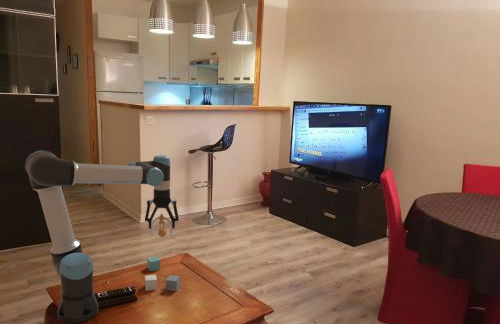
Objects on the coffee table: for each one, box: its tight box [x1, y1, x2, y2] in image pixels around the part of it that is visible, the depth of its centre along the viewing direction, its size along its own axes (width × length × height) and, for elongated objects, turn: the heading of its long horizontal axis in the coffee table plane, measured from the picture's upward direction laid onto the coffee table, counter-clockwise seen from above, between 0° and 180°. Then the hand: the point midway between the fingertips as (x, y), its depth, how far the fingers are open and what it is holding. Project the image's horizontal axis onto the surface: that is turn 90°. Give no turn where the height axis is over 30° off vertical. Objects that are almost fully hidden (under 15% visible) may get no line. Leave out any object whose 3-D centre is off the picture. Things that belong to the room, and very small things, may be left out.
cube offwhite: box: [144, 274, 158, 292], centre depth 181 cm, size 5×5×5 cm
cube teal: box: [146, 256, 161, 272], centre depth 201 cm, size 5×5×5 cm
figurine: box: [152, 213, 171, 238], centre depth 188 cm, size 8×6×12 cm
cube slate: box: [165, 274, 181, 292], centre depth 182 cm, size 5×5×5 cm
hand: (161, 234), depth 189 cm, fingers closed on figurine, 8 cm apart
